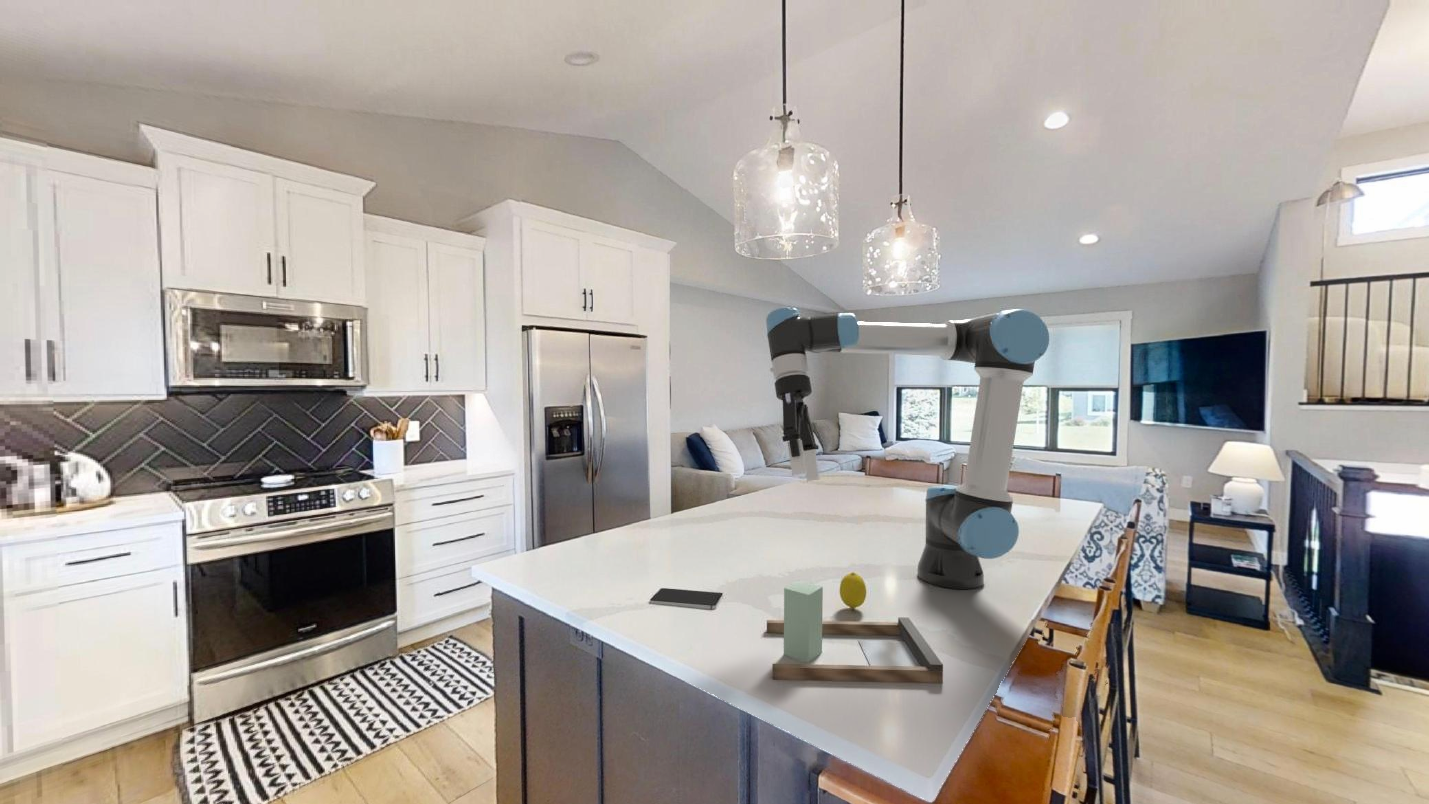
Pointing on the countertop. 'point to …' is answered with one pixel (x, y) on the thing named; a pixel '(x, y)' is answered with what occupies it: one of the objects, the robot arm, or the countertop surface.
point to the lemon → (853, 590)
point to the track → (871, 655)
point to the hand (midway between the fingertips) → (806, 477)
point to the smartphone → (687, 598)
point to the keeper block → (803, 621)
